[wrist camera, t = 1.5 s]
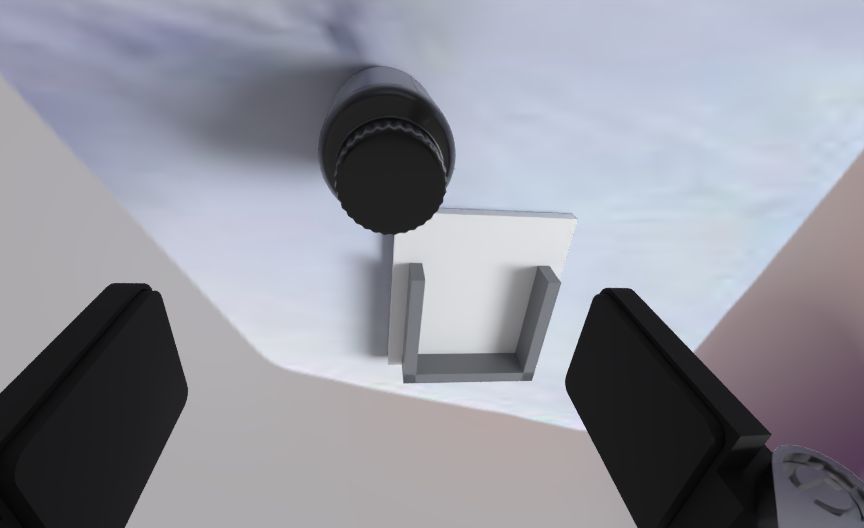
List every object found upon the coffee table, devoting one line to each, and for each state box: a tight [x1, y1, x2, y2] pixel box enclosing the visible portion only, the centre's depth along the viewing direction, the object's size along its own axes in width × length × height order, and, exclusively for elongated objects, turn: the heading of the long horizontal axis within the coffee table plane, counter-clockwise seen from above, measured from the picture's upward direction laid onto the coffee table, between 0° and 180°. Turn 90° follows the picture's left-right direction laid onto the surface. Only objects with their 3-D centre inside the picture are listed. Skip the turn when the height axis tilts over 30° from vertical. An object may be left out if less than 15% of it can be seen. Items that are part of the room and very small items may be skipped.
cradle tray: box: [388, 208, 578, 383], centre depth 34 cm, size 15×14×4 cm
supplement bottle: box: [318, 67, 456, 235], centre depth 22 cm, size 7×7×12 cm
